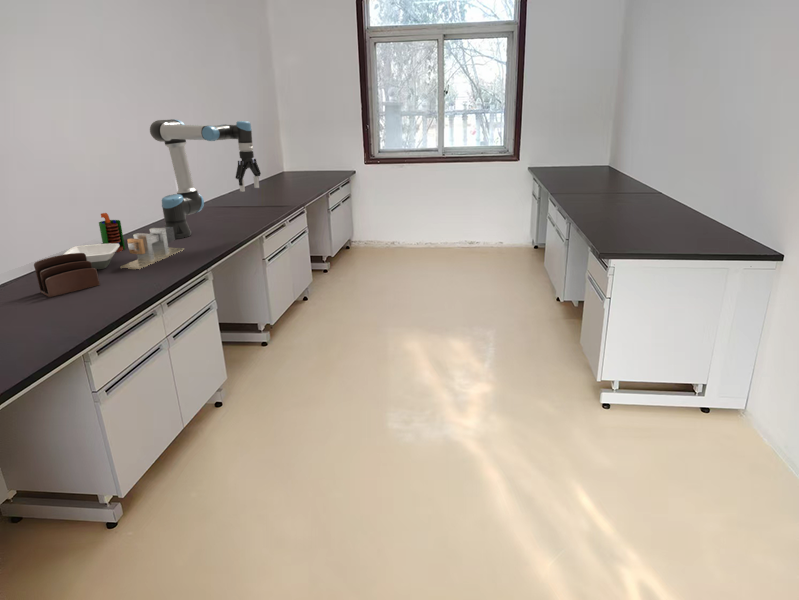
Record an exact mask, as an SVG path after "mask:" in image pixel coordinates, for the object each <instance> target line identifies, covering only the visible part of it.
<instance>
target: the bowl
mask: <svg viewBox="0 0 799 600" xmlns="http://www.w3.org/2000/svg"><path fill="white" fill-rule="evenodd" d="M119 246H120V245H119V244H118V243H115V244H103V243H98V244H97V243H95V244H86V245H85V244H83V245H75V246H73V247H71V248H69V249H68V250H67V251H65V252H64V253H63V254H62V255H65V254H72V253H84V254H85V255H86V258H87V261H90V262H91V264H92V268H95V269H96V270H97V269H98V270H104V269H106V268H107V267H108V266H109V265H110V263H111V261H112V259H113V256H114V255H115V254H116V253H115V252H116V251H117V249H118V248H119Z"/></svg>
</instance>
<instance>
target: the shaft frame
mask: <svg viewBox="0 0 799 600" xmlns="http://www.w3.org/2000/svg"><path fill="white" fill-rule="evenodd" d="M153 234H160V240H159V241H157V242H154V243H151V237H150V235H153ZM133 238H134V239H143V240H144V245H145V246H144V248H145V254H136V257H137V259H135V260H133V261H130V262H128V263H126V264H123V265H121V266H120V269H122V268H128V269H127V270H136V269H139V270H141V268H142V269H143V267H144V268H146V267H149V266H151V265H153V264H156V263H158V262H160V261H162V259H163V260H165V259H167V258H169V256H170V257H172V256H174V255H176V253H177V254H178V252H179V253H181V252H183V250H184V251H185V248H184V247H170V246H169V243H168V241H167V235H166V229H165V228H162V227H151V228H149V233H143V232H139V233H138V232H137V233H134V234H133ZM135 250H140V249H139V248H138V249H135ZM180 251H181V252H180ZM173 254H174V255H173ZM171 255H172V256H171ZM157 261H158V262H157ZM155 262H156V263H155ZM150 264H151V265H150ZM148 265H149V266H148Z"/></svg>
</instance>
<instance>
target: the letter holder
mask: <svg viewBox="0 0 799 600" xmlns="http://www.w3.org/2000/svg"><path fill="white" fill-rule="evenodd" d="M33 266H34V271H35V275H36V278H37V283H38V287H39V290H40V293H41V294H43V295H44V296H46V297H48V298H52V297H53V298H54V297H56V296H60V295H64V294H69V293H73V292H78V291H81V290H86V289H90V288H94V287H99V286H101V283H100V279H99V275H98V271H97V270H96V269H95V268H92V264H91V262H90V261H87V258H86V255H85V254H84V253H72V254H65V255H63V254H60V255H55V256H51V257H48V258H44V259H41V260H37V261H35V262H34V264H33ZM98 285H99V286H98Z"/></svg>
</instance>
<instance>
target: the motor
mask: <svg viewBox="0 0 799 600" xmlns="http://www.w3.org/2000/svg"><path fill="white" fill-rule="evenodd" d="M100 216H101V217H100V218H103V219H104V220H102V221H99V222H98V226H99V231H100V237H101V242H102V243H101V244H115V243H118V244H119V245H120V246H119V248H118V249H117V251H116V252H117V253H121V252H123V251H124V250H126V246H125V240H124V234H123V233H124V232H123V228H122V223H121V220H119V219H110V217H109V214H108V213H107V212H103V213H100ZM122 250H123V251H122ZM120 251H121V252H120Z"/></svg>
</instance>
